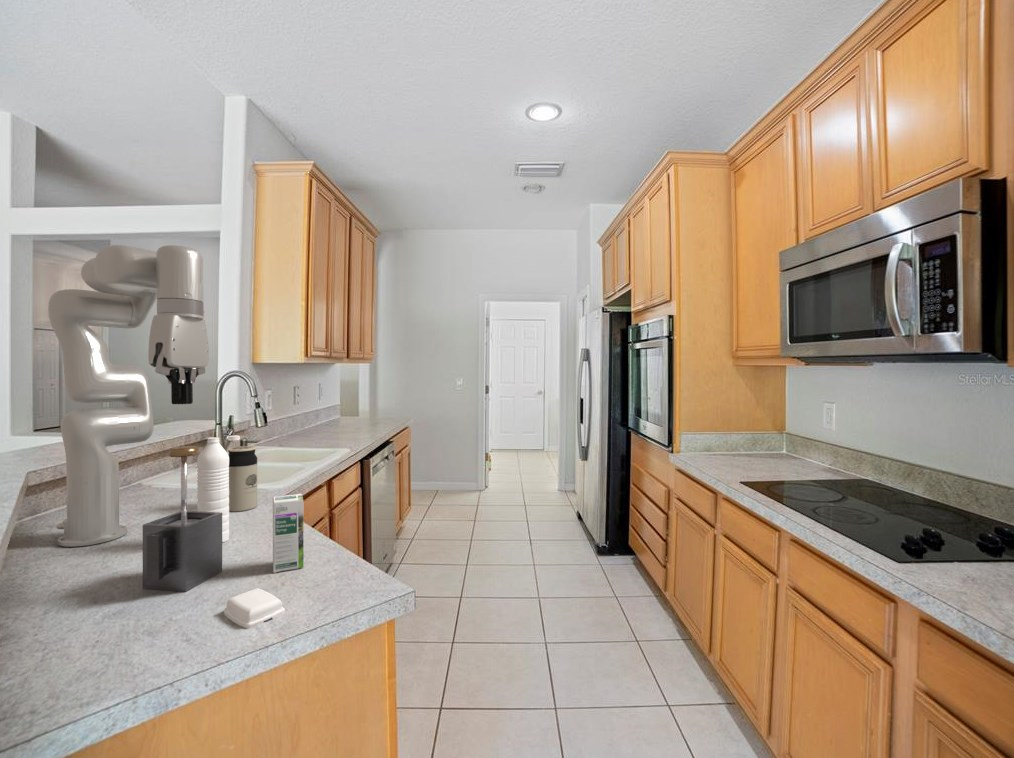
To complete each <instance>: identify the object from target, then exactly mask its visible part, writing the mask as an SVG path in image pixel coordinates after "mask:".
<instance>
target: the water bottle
mask: <svg viewBox="0 0 1014 758" xmlns="http://www.w3.org/2000/svg"><path fill="white" fill-rule="evenodd" d="M240 439H241V435H235V434H234V435H228V436H227V440H228V441H232V442H233V441H240ZM196 459H197V460H196V466H197V471H196V472H197V480H196V481H197V487H196V488H197V491H196V493H197V494H196V498H197V502H196V503H197V505H196V506H197V510H196V511H201V512H220V513H222V543H225V542H227V541H228V540H229V539H230V511H229V452H227V451H226V449H225V448H224V447H223V446H222V445H221V443H220V437H216V436H214V437H207V441H206V445H205V446H204V447H203V449H202V450H201V451H200V453H199V454H198V456H197V458H196Z"/></svg>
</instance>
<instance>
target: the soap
mask: <svg viewBox="0 0 1014 758" xmlns="http://www.w3.org/2000/svg"><path fill="white" fill-rule="evenodd" d="M285 612H286V609H285V608H284V607H283V602H282V600H280V598H277V597H276V596H275V595H274V594H272V593H270V592H267V591H266V590H263V589H261V588H254V589H252V590H248V591H245V592H243V593H240V594H237V595H236V596H233V597H230V598H229V599H227V601H226V607H225V608H224V609H223V615H224V616H225V617H227V618H228V619H229V620H230V621H231V622H233V623H235V624H236V625H238V626H240V627H242V628H244V629H251V628H255V627H257V626H260V625H263V624H264V623H265V621H269V620H270V619H272V620H274V619H277V618H278V617H280V616H282V615H284V614H285Z"/></svg>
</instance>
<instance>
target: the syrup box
mask: <svg viewBox="0 0 1014 758" xmlns="http://www.w3.org/2000/svg"><path fill="white" fill-rule="evenodd" d="M304 541H305V540H304V497H303V494H302V493H297V494H287V495H277V496H273V497H272V572H273V574H276V573H279V572H287V571H292V570H296V569H303V568H304V563H305V561H304V558H305V556H304V553H305V552H304V546H305V545H304Z"/></svg>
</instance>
